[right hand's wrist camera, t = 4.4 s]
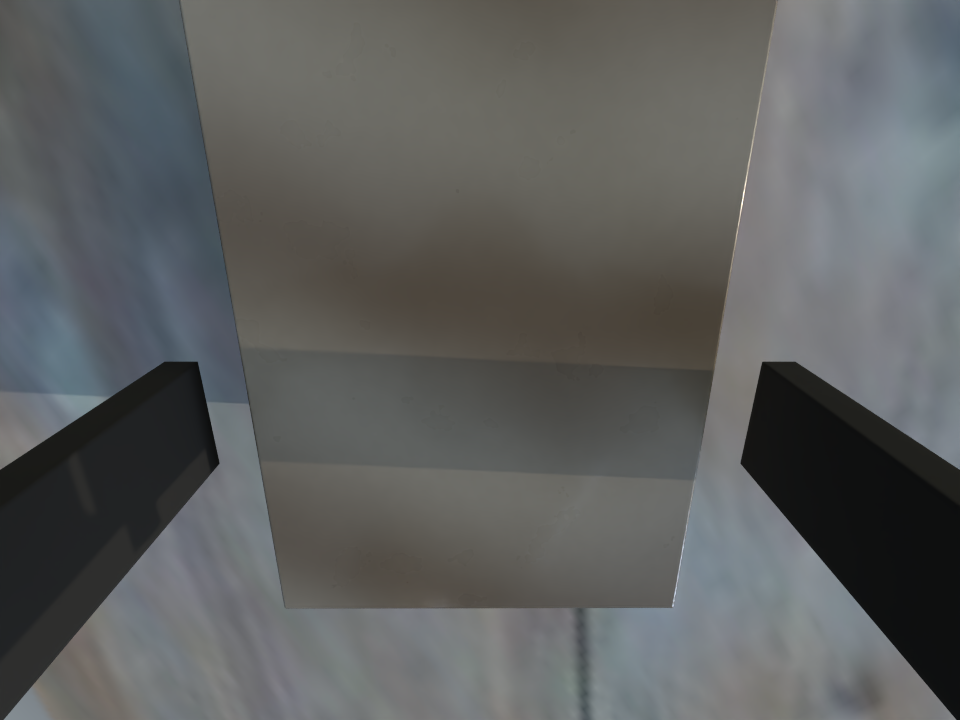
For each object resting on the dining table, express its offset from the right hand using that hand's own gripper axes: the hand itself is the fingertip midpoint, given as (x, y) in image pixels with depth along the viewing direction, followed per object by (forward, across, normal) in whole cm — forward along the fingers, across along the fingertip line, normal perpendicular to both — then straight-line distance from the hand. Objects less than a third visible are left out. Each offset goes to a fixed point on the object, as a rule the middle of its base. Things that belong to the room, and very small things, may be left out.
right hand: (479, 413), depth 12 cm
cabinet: (+11, 0, -4) cm, 11 cm away
